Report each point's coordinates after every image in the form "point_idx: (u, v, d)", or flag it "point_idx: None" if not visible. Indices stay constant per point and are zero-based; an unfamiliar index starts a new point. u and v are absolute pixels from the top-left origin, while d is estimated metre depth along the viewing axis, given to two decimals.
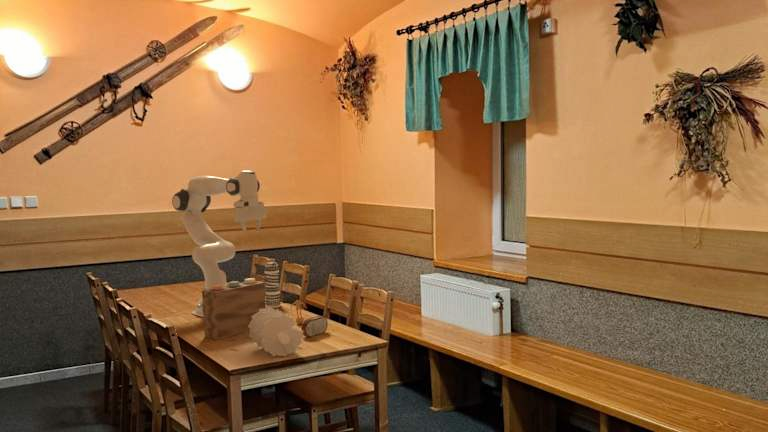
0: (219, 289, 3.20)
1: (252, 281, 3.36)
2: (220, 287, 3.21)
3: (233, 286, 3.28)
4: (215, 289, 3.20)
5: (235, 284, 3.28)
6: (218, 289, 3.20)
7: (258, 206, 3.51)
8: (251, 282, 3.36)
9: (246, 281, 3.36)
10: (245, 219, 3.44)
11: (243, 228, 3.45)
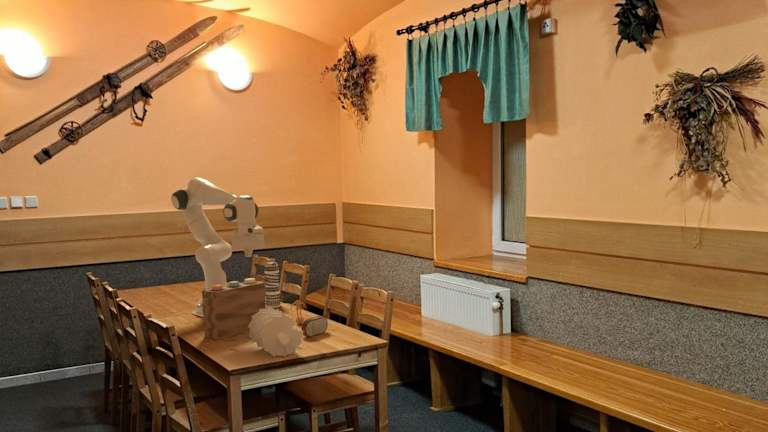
0: (219, 289, 3.20)
1: (252, 281, 3.36)
2: (220, 287, 3.21)
3: (233, 286, 3.28)
4: (215, 289, 3.20)
5: (235, 284, 3.28)
6: (218, 289, 3.20)
7: None
8: (251, 282, 3.36)
9: (246, 281, 3.36)
10: None
11: (250, 254, 3.36)
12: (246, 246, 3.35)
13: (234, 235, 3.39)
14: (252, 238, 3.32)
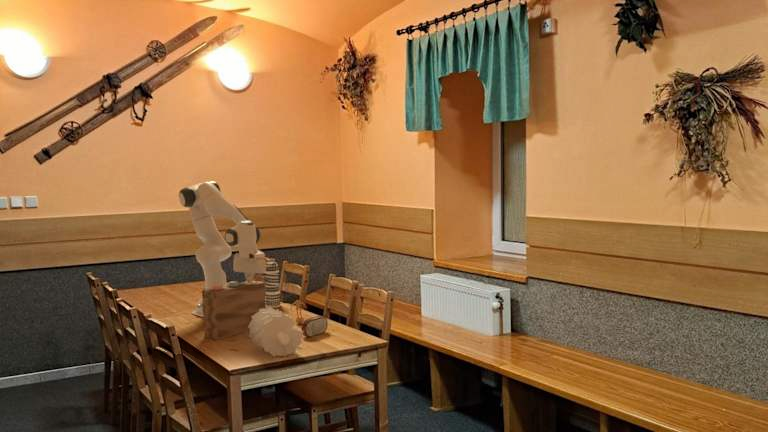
0: (219, 289, 3.20)
1: None
2: (220, 287, 3.21)
3: (233, 286, 3.28)
4: (215, 289, 3.20)
5: (235, 284, 3.28)
6: (218, 289, 3.20)
7: None
8: None
9: None
10: None
11: (251, 279, 3.37)
12: (247, 271, 3.36)
13: (235, 260, 3.40)
14: (253, 263, 3.33)
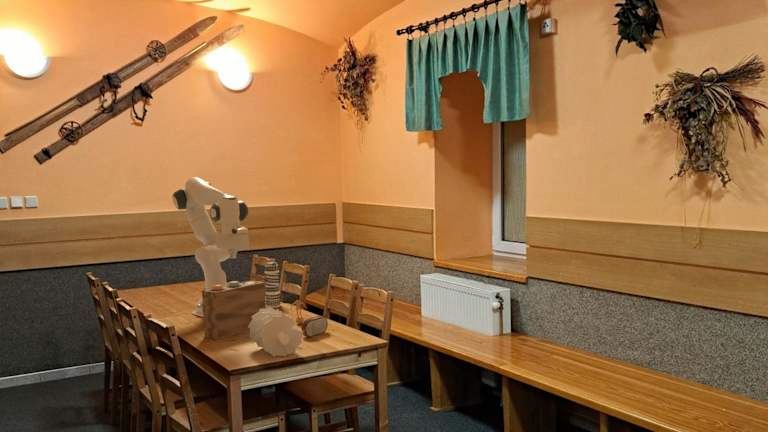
0: (219, 289, 3.20)
1: None
2: (220, 287, 3.21)
3: (233, 286, 3.28)
4: (215, 289, 3.20)
5: (235, 284, 3.28)
6: (218, 289, 3.20)
7: None
8: None
9: None
10: None
11: (235, 256, 3.28)
12: (230, 247, 3.27)
13: (218, 236, 3.31)
14: (236, 239, 3.24)
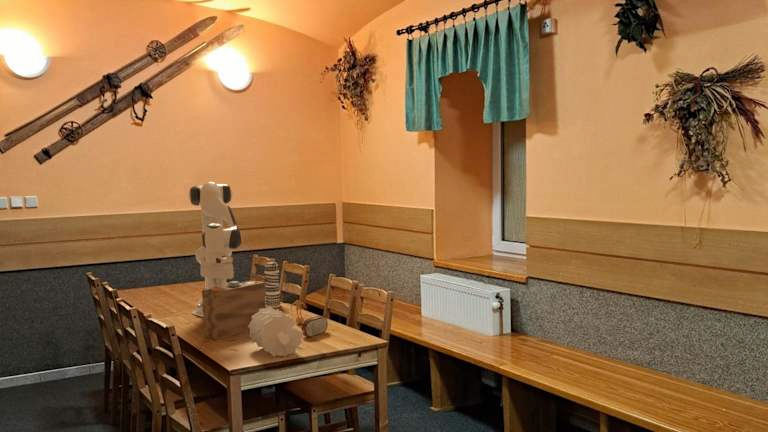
0: None
1: None
2: (220, 289, 3.21)
3: (233, 286, 3.28)
4: None
5: (235, 284, 3.28)
6: None
7: None
8: None
9: None
10: None
11: (219, 285, 3.21)
12: (214, 276, 3.20)
13: (202, 264, 3.24)
14: (220, 268, 3.17)
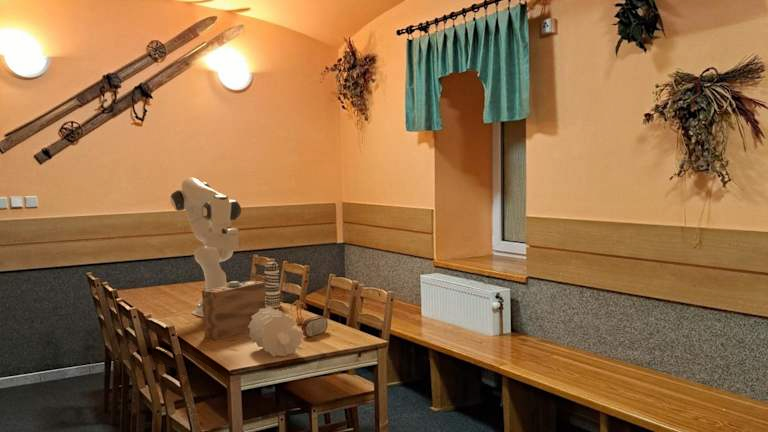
0: None
1: None
2: None
3: (233, 286, 3.28)
4: None
5: (235, 284, 3.28)
6: None
7: None
8: None
9: None
10: None
11: (224, 255, 3.27)
12: (220, 247, 3.26)
13: (208, 235, 3.31)
14: (226, 239, 3.23)
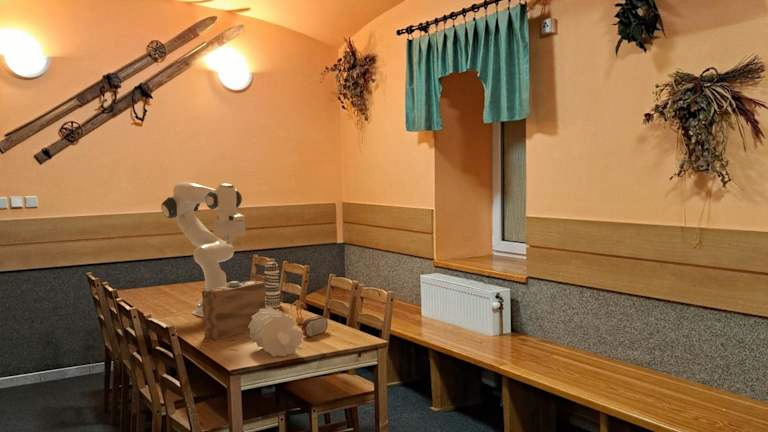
0: None
1: None
2: None
3: (233, 286, 3.28)
4: None
5: (235, 284, 3.28)
6: None
7: None
8: None
9: None
10: None
11: (231, 242, 3.39)
12: (227, 234, 3.38)
13: (215, 223, 3.43)
14: (233, 226, 3.35)
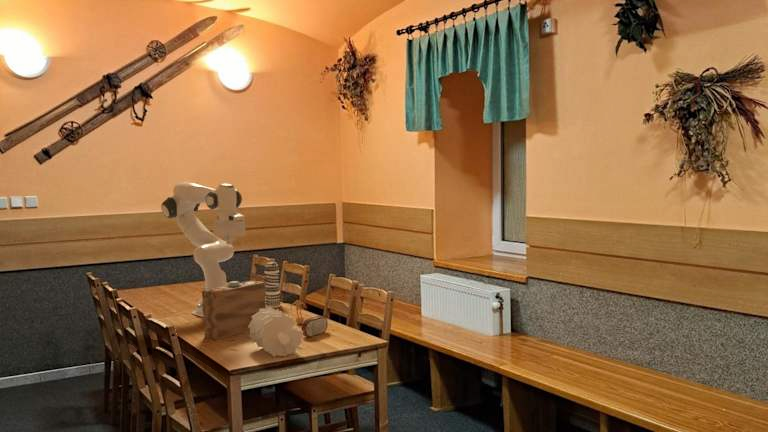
0: None
1: None
2: None
3: (233, 286, 3.28)
4: None
5: (235, 284, 3.28)
6: None
7: None
8: None
9: None
10: None
11: (231, 242, 3.39)
12: (227, 234, 3.38)
13: (215, 223, 3.43)
14: (233, 226, 3.35)
